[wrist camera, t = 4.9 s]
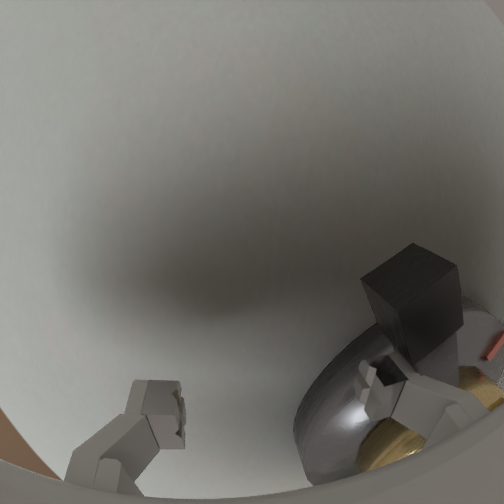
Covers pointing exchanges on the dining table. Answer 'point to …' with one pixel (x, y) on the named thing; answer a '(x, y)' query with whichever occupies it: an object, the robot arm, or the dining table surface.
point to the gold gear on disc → (352, 411)
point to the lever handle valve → (419, 340)
